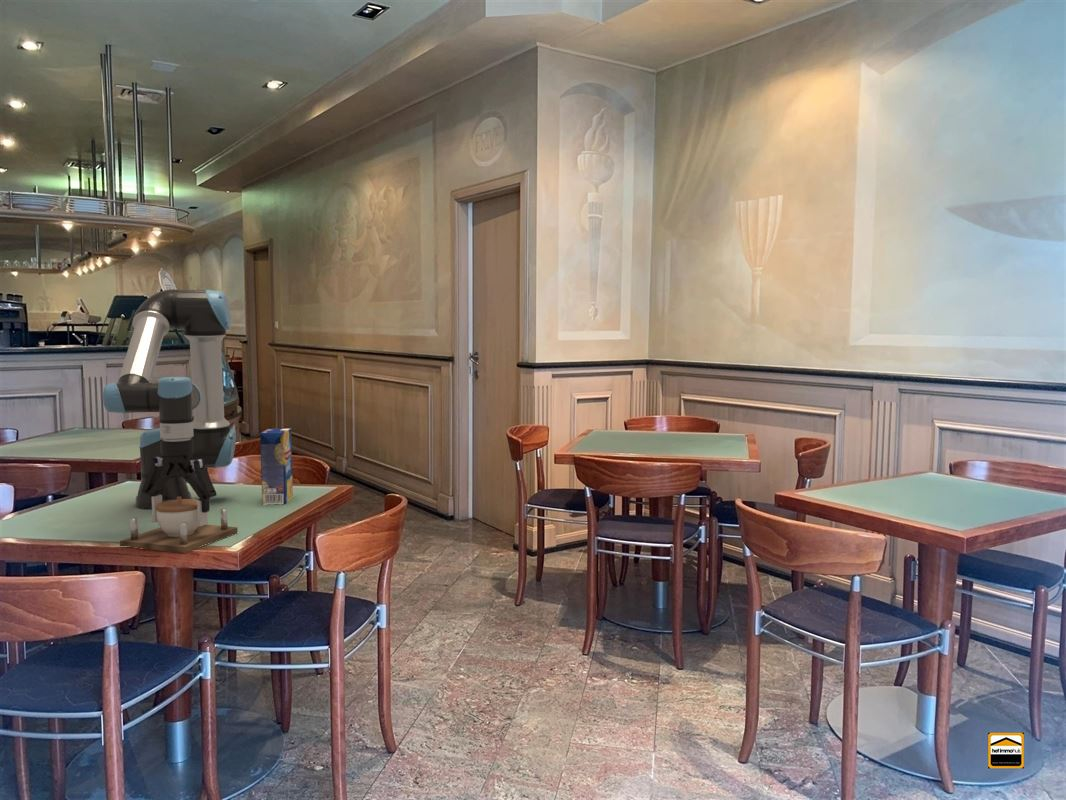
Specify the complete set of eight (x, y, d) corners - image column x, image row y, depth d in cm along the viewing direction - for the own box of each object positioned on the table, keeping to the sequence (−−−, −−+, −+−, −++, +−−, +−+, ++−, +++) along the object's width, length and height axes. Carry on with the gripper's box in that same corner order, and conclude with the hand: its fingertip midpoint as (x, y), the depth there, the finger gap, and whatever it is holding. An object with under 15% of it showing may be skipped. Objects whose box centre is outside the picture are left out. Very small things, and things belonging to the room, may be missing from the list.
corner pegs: (129, 539, 183) (128, 519, 183) (177, 523, 199) (176, 505, 198) (184, 544, 179) (183, 524, 178) (229, 528, 194) (228, 509, 194)
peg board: (119, 546, 182) (119, 540, 182) (176, 527, 200) (176, 522, 200) (185, 553, 177) (184, 547, 177) (237, 532, 195) (237, 527, 195)
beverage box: (292, 497, 239) (291, 428, 237) (285, 504, 228) (283, 432, 226) (270, 497, 238) (268, 428, 236) (262, 505, 227) (260, 433, 225)
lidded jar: (170, 527, 194) (169, 492, 193) (211, 528, 194) (210, 492, 193) (148, 539, 184) (146, 501, 183) (191, 539, 183) (189, 501, 182)
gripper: (124, 439, 186) (127, 523, 188) (208, 443, 180) (211, 530, 181) (147, 435, 194) (150, 516, 195) (229, 439, 187) (232, 523, 189)
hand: (180, 523), depth 188 cm, fingers open, 13 cm apart
